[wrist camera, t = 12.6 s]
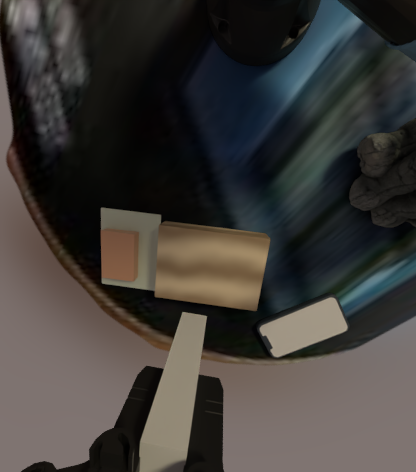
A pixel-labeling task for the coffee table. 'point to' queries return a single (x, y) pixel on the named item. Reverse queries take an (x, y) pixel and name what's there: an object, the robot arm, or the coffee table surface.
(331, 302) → the phone case
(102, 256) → the salmon orange slab
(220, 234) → the wooden block
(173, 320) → the coffee table surface
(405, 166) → the stuffed elephant
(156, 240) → the mat
